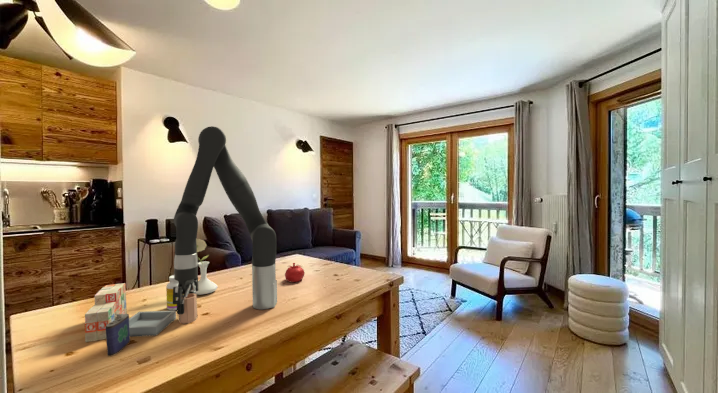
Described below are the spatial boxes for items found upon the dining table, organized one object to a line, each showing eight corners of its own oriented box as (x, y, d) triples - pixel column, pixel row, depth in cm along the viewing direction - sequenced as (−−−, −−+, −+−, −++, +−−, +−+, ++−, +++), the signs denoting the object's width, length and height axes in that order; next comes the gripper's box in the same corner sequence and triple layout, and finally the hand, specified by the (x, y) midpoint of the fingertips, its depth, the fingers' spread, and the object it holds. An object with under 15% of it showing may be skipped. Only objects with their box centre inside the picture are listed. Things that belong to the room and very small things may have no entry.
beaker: (199, 316, 119) (198, 293, 118) (192, 323, 113) (191, 298, 113) (183, 316, 118) (183, 293, 118) (176, 323, 113) (175, 299, 112)
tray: (176, 318, 117) (175, 310, 117) (155, 335, 104) (155, 327, 104) (139, 319, 116) (139, 311, 116) (114, 337, 103) (114, 328, 103)
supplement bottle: (177, 311, 123) (176, 279, 123) (162, 310, 125) (161, 278, 124) (189, 304, 130) (188, 274, 129) (175, 303, 131) (174, 273, 130)
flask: (123, 340, 101) (122, 308, 100) (133, 340, 101) (132, 307, 101) (104, 356, 92) (103, 321, 91) (115, 356, 92) (114, 320, 92)
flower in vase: (221, 287, 150) (220, 236, 149) (211, 296, 139) (209, 240, 137) (194, 288, 150) (192, 236, 148) (181, 297, 138) (179, 241, 137)
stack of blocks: (109, 339, 102) (107, 302, 102) (85, 343, 100) (83, 305, 99) (127, 313, 122) (125, 282, 121) (107, 316, 119) (105, 284, 119)
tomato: (308, 279, 164) (308, 262, 163) (294, 284, 155) (295, 266, 155) (294, 276, 169) (294, 259, 168) (280, 280, 160) (280, 263, 160)
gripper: (187, 271, 108) (187, 317, 109) (204, 260, 122) (205, 301, 123) (164, 271, 108) (165, 317, 108) (185, 260, 122) (185, 301, 123)
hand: (186, 309), depth 116 cm, fingers open, 8 cm apart
